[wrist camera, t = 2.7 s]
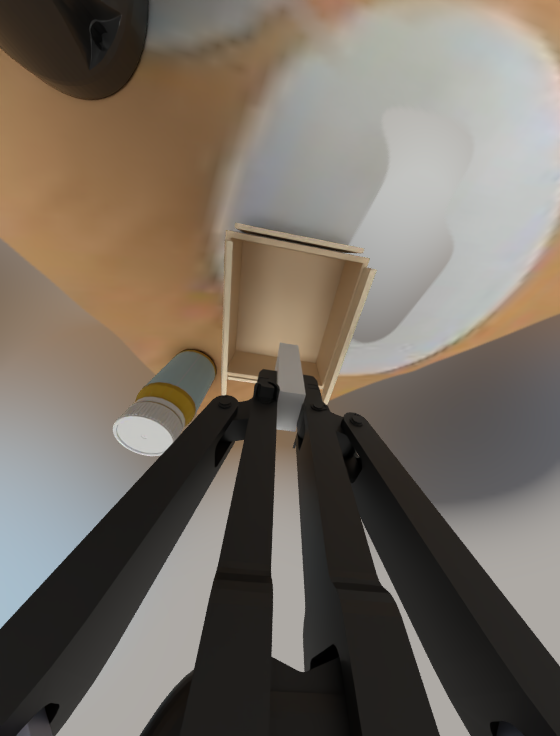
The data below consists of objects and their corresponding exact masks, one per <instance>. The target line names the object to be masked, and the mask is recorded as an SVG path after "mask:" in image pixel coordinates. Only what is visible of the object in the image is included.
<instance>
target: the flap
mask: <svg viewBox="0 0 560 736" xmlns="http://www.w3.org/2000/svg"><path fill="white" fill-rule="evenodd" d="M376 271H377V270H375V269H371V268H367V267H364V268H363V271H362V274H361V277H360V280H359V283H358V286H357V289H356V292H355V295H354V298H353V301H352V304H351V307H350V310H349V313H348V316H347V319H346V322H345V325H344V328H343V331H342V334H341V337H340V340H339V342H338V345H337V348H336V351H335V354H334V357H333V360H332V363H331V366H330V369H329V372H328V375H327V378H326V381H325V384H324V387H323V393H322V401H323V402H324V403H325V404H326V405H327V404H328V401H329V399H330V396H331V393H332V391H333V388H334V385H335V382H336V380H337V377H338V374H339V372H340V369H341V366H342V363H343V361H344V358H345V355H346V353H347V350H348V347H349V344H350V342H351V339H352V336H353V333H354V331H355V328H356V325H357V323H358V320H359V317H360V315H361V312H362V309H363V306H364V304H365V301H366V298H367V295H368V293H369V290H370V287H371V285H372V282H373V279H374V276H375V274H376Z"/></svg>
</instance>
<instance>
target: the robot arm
mask: <svg viewBox="0 0 560 736" xmlns="http://www.w3.org/2000/svg"><path fill="white" fill-rule="evenodd" d="M147 17H148V0H0V48H1V49H2V50H3V51H4V52H5V53H7V54H8V55H9V56H10V57H11V58H12V59H14V60H15V61H16V62H17V63H19V64H20V65H21V66H23V67H24V68H26V69H27V70H28V71H30V72H31V73H33V74H34V75H36V76H37V77H38V78H40V79H41V80H43V81H44V82H45V83H47V84H49V85H50V86H52V87H53V88H55V89H57V90H59V91H61V92H63V93H65V94H68V95H70V96H73V97H77V98H82V99H99V98H104V97H107V96H109V95H111V94H113V93H115V92H116V91H118V90H119V89H120V88H121V87H122V86H123V85H124V84H125V83H126V82H127V81H128V80H129V78H130V77H131V75H132V74H133V72H134V70H135V68H136V66H137V64H138V61H139V59H140V56H141V53H142V49H143V45H144V40H145V35H146V28H147ZM296 427H297V435H296V439H295V442H294V445H293V448H295V446H296V454H297V471H298V487H299V505H300V521H301V538H302V555H303V571H304V589H305V618H304V628H303V648H304V667H305V668H304V669H305V672H299V671H297V670H295V669H293V668H292V667H290V666H288V665H286V664H284V663H282V662H280V661H278V660H277V659H275V658H273V657H271V651H272V650H271V649H272V617H273V584H272V578H271V554H272V553H271V552H272V528H273V503H274V501H273V500H274V477H275V451H276V429H279V430H287V431H296ZM238 440H244V444H243V449H242V453H241V459H240V463H239V467H238V473H237V477H236V482H235V487H234V491H233V496H232V501H231V506H230V510H229V515H228V520H227V525H226V530H225V535H224V539H223V544H222V549H221V554H220V558H219V563H218V567H217V571H216V574H215V578H214V581H213V586H212V590H211V594H210V598H209V603H208V607H207V612H206V617H205V621H204V626H203V630H202V635H201V640H200V644H199V649H198V654H197V658H196V663H195V668H194V670H193V671H191V672H190V673H189V674H188V675H186V676H185V677H184V678H183V679H182V680H181V681H180V682H179V683H178V684H177V685H176V686H175V687H174V689H173V690H172V691H171V692H170V693H169V695H168V696H167V697H166V698H165V700H164V701H163V702H162V703H161V705H160V706H159V708H158V709H157V711H156V712H155V713H154V715H153V716H152V718H151V719H150V721H149V722H148V724H147V725H146V727H145V728H144V730H143V731H142V733H141V735H140V736H440V735H439V732H438V729H437V726H436V722H435V719H434V716H433V713H432V710H431V707H430V704H429V701H428V698H427V694H426V691H425V688H424V685H423V682H422V679H421V676H420V673H419V670H418V666H417V663H416V660H415V658H414V654H413V651H412V648H411V645H410V642H409V639H408V635H407V632H406V629H405V626H404V623H403V620H402V617H401V614H400V612H399V609H398V607H397V604H396V602H395V601H394V599H393V597H392V595H391V594H390V593H389V592H388V591H387V590H386V589H385V588H383V586H382V585H381V583H380V582H379V579H378V577H377V574H376V570H375V567H374V563H373V560H372V557H371V553H370V550H369V546H368V543H367V539H366V536H365V532H364V529H363V525H362V522H363V523H364V526H365V528H366V530H367V532H368V534H369V536H370V538H371V540H372V542H373V544H374V546H375V548H376V550H377V552H378V555H379V557H380V559H381V561H382V562H383V565H384V567H385V569H386V571H387V573H388V575H389V577H390V579H391V581H392V583H393V585H394V587H395V590H396V592H397V594H398V596H399V598H400V600H401V602H402V604H403V606H404V608H405V610H406V612H407V614H408V616H409V619H410V620H411V623H412V625H413V627H414V629H415V631H416V633H417V635H418V637H419V639H420V641H421V643H422V645H423V647H424V650H425V652H426V654H427V656H428V658H429V660H430V662H431V664H432V666H433V668H434V670H435V672H436V674H437V676H438V677H439V679H440V682H441V683H442V685H443V687H444V689H445V691H446V693H447V695H448V697H449V699H450V701H451V702H452V704H453V706H454V708H455V709H456V711H457V713H458V715H459V716H460V718H461V720H462V721H463V723H464V725H465V727H466V728H467V730H468V732H469V734H470V735H471V736H560V666H559V665H558V664H557V662H556V661H555V660H554V658H553V657H552V656H551V655H550V654H549V652H548V651H547V650H546V648H545V647H544V646H543V644H542V643H541V642H540V641H539V639H538V638H537V637H536V636H535V634H534V633H533V632H532V631H531V629H530V628H529V627H528V626H527V624H526V623H525V621H524V620H523V619H522V618H521V616H520V615H519V614H518V613H517V611H516V610H515V609H514V608H513V606H512V605H511V604H510V602H509V601H508V600H507V599H506V597H505V596H504V595H503V593H502V592H501V591H500V590H499V589H498V587H497V586H496V585H495V583H494V582H493V581H492V579H491V578H490V577H489V576H488V574H487V573H486V572H485V570H484V569H483V568H482V567H481V565H480V564H479V563H478V562H477V560H476V559H475V558H474V556H473V555H472V554H471V553H470V551H469V550H468V549H467V547H466V546H465V545H464V544H463V542H462V541H461V540H460V539H459V537H458V536H457V535H456V533H455V532H454V531H453V530H452V528H451V527H450V526H449V525H448V523H447V522H446V521H445V519H444V518H443V517H442V516H441V514H440V513H439V512H438V511H437V509H436V508H435V507H434V505H433V504H432V503H431V502H430V500H429V499H428V498H427V497H426V495H425V494H424V493H423V491H422V490H421V489H420V488H419V486H418V485H417V484H416V483H415V481H414V480H413V479H412V477H411V476H410V475H409V474H408V472H407V471H406V470H405V469H404V467H403V466H402V465H401V463H400V462H399V461H398V459H397V458H396V457H395V456H394V455H393V453H392V452H391V451H390V449H389V448H388V447H387V445H386V444H385V443H384V442H383V440H382V439H381V438H380V437H379V435H378V434H377V433H376V431H375V430H374V429H373V428H372V427H371V425H370V424H369V423H368V421H367V420H366V419H365V418H364V417H362V416H361V415H359V414H356V413H346V414H345V415H344V417H341V416H338V415H336V414H334V413H331V412H330V410H329V408H328V406H327V405H326V404H325V403H324V402H323V401H322V397H321V393H320V390H319V386H318V382H317V380H316V379H315V378H314V376H309V375H303V374H302V367H301V361H300V354H299V348H298V345H292V344H286V343H280V344H279V350H278V355H277V361H276V366H275V371H273V370H267V369H262V370H261V371H260V372H259V375H258V380H257V383H256V384H255V387H254V395H253V398H251V399H250V400H248V401H243V402H238V400H237V399H236V398H234V397H232V396H228V395H221V396H218V397H216V398H214V399H213V400H212V401H211V402H210V403H209V404H208V405H207V407H206V408H205V409H204V410H203V411H202V412H201V413H200V414H199V415H198V416H197V417H196V418H195V420H194V421H193V422H192V423H191V424H190V425H189V426H188V427H187V428H186V429H185V430H184V431H183V433H182V434H181V435H180V436H179V437H178V438H177V439H176V440H175V441H174V442H173V443H172V444H171V445H170V446H169V448H168V449H167V450H166V451H165V452H164V453H163V454H162V455H161V456H160V457H159V458H158V459H157V461H156V462H155V463H154V464H153V465H152V466H151V467H150V468H149V469H148V470H147V471H146V472H145V473H144V475H143V476H142V477H141V478H140V479H139V480H138V481H137V482H136V483H135V484H134V485H133V486H132V488H131V489H130V490H129V491H128V492H127V493H126V494H125V495H124V496H123V497H122V498H121V499H120V500H119V502H118V503H117V504H116V505H115V506H114V507H113V508H112V509H111V510H110V511H109V512H108V513H107V514H106V515H105V517H104V518H103V519H102V520H101V521H100V522H99V523H98V524H97V525H96V526H95V527H94V528H93V530H92V531H91V532H90V533H89V534H88V535H87V536H86V537H85V538H84V539H83V540H82V541H81V543H80V544H79V545H78V546H77V547H76V548H75V549H74V550H73V551H72V552H71V553H70V554H69V555H68V556H67V558H66V559H65V560H64V561H63V562H62V563H61V564H60V565H59V566H58V567H57V568H56V569H55V571H54V572H53V573H52V574H51V575H50V576H49V577H48V578H47V579H46V580H45V582H43V584H42V585H41V586H40V587H39V588H38V589H37V590H36V591H35V592H34V593H33V594H32V595H31V596H30V597H29V599H28V600H27V601H26V602H25V603H24V604H23V605H22V606H21V607H20V608H19V609H18V610H17V612H16V613H15V614H14V615H13V616H12V617H11V618H10V619H9V620H8V621H7V622H6V623H5V624H4V626H3V627H2V628H1V629H0V736H55V735H56V734H57V733H58V732H59V730H60V729H61V728H62V726H63V725H64V724H65V723H66V721H67V720H68V718H69V717H70V715H71V714H72V712H73V711H74V710H75V708H76V707H77V705H78V704H79V703H80V701H81V700H82V698H83V697H84V696H85V694H86V693H87V691H88V690H89V688H90V687H91V686H92V684H93V683H94V681H95V680H96V678H97V676H98V675H99V673H100V672H101V670H102V668H103V667H104V665H105V664H106V662H107V660H108V659H109V657H110V656H111V654H112V652H113V651H114V649H115V647H116V646H117V644H118V642H119V641H120V639H121V637H122V635H123V634H124V632H125V630H126V629H127V627H128V625H129V623H130V622H131V620H132V618H133V617H134V615H135V613H136V611H137V610H138V608H139V606H140V605H141V603H142V601H143V599H144V598H145V596H146V594H147V592H148V590H149V589H150V587H151V585H152V584H153V582H154V580H155V579H156V577H157V575H158V573H159V572H160V570H161V568H162V567H163V565H164V563H165V562H166V560H167V558H168V556H169V555H170V553H171V551H172V550H173V548H174V546H175V544H176V543H177V541H178V539H179V537H180V536H181V534H182V532H183V531H184V529H185V527H186V525H187V524H188V522H189V520H190V519H191V517H192V515H193V513H194V511H195V510H196V508H197V506H198V505H199V503H200V501H201V499H202V498H203V496H204V495H205V493H206V491H207V489H208V488H209V486H210V484H211V482H212V481H213V479H214V477H215V476H216V474H217V472H218V470H219V469H220V467H221V465H222V464H223V462H224V460H225V458H226V457H227V455H228V453H229V452H230V449H231V448H232V446H233V445H234V443H235V441H238ZM356 452H357V453H358V455H359V456H358V455H357V453H356ZM360 517H361V518H360ZM361 519H362V522H361Z"/></svg>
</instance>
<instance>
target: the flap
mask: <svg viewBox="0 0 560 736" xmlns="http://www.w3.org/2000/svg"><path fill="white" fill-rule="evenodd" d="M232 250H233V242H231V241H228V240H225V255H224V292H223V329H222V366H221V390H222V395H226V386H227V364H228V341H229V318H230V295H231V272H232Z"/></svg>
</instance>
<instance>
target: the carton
mask: <svg viewBox="0 0 560 736" xmlns="http://www.w3.org/2000/svg"><path fill="white" fill-rule="evenodd" d="M235 228H236V229H238V230H240V231H243V232H245V233H249V234H254V235H259V236H264V237H269V238H274V239H279V240H284V241H289V242H294V243H299V244H304V245H309V246H314V247H319V248H324V249H330V250H335V251H340V252H345V253H363V251H364V249H363V248H358V247H353V246H348V245H343V244H338V243H333V242H328V241H323V240H318V239H313V238H308V237H303V236H298V235H293V234H289V233H284V232H279V231H274V230H269V229H264V228H259V227H254V226H249V225H244V224H239V223H235ZM259 236H253V235H248V234H243V233H238V232H233V231H228V230H226V238H225V240H228V241H231V242H233V250H232V272H231V295H230V318H229V341H228V364H227V375H228V379H229V380H236V381H243V382H250V383H257V380H258V375H259V372H260V371H261V370H262V369H267V370H273V371H275V366H276V361H277V355H278V350H279V344H280V343H286V344H292V345H298V348H299V354H300V361H301V367H302V374H303V375H309V376H314V378H315V379H316V380H317V382H318V386H319V389H323V387H324V384H325V381H326V378H327V375H328V372H329V369H330V366H331V363H332V360H333V357H334V354H335V351H336V348H337V345H338V342H339V340H340V337H341V334H342V331H343V328H344V325H345V322H346V319H347V316H348V313H349V310H350V307H351V304H352V301H353V298H354V295H355V292H356V289H357V286H358V283H359V280H360V277H361V274H362V271H363V268H364V267H367V265H368V263H369V260H370V259H369V258H365V257H359V256H354V255H350V254H345V253H340V252H335V251H329V250H324V249H319V248H314V247H309V246H304V245H299V244H294V243H289V242H284V241H279V240H274V239H269V238H264V237H259Z"/></svg>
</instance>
